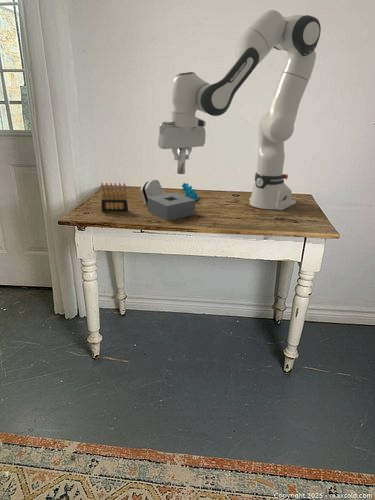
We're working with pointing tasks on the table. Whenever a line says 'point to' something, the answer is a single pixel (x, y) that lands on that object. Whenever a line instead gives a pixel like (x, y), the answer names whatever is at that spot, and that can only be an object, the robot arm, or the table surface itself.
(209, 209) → the table surface
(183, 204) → the pin block
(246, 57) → the robot arm
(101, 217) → the table surface
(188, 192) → the gear
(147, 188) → the hinge
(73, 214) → the table surface
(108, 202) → the ammunition clip
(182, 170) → the steel pin
